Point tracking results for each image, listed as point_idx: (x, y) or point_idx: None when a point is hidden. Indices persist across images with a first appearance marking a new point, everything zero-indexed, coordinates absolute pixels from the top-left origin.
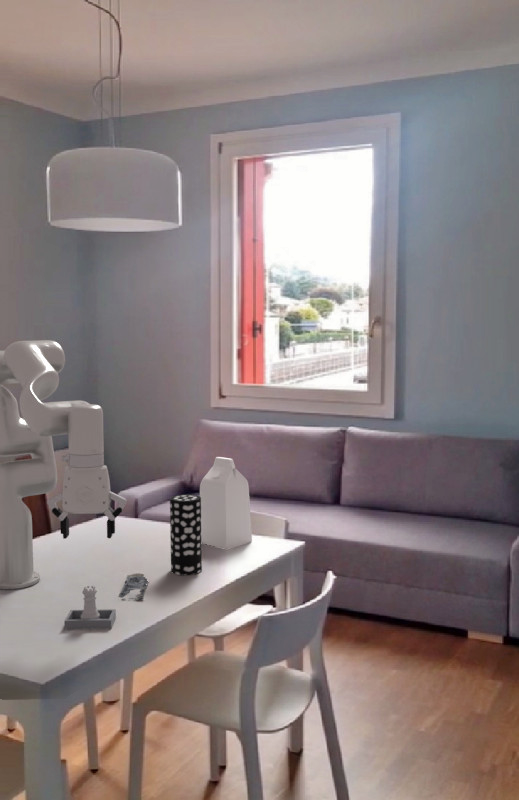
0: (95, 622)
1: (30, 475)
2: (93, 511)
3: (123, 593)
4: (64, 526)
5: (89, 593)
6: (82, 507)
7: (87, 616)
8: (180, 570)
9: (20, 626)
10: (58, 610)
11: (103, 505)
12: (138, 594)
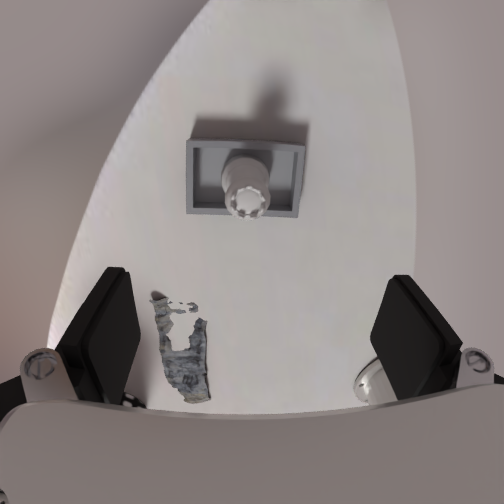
0: (226, 140)
1: None
2: (173, 429)
3: (198, 331)
4: (435, 319)
5: (245, 179)
6: (365, 479)
7: (249, 162)
8: (123, 398)
9: (392, 178)
10: (323, 259)
11: (12, 472)
12: (168, 327)
